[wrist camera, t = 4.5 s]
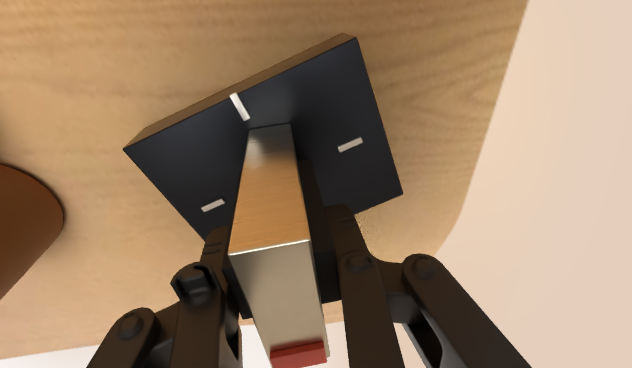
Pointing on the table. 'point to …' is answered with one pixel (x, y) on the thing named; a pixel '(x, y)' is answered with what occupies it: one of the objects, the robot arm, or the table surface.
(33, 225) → the mug
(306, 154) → the socket base
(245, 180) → the red-tipped metal block
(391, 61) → the table surface
